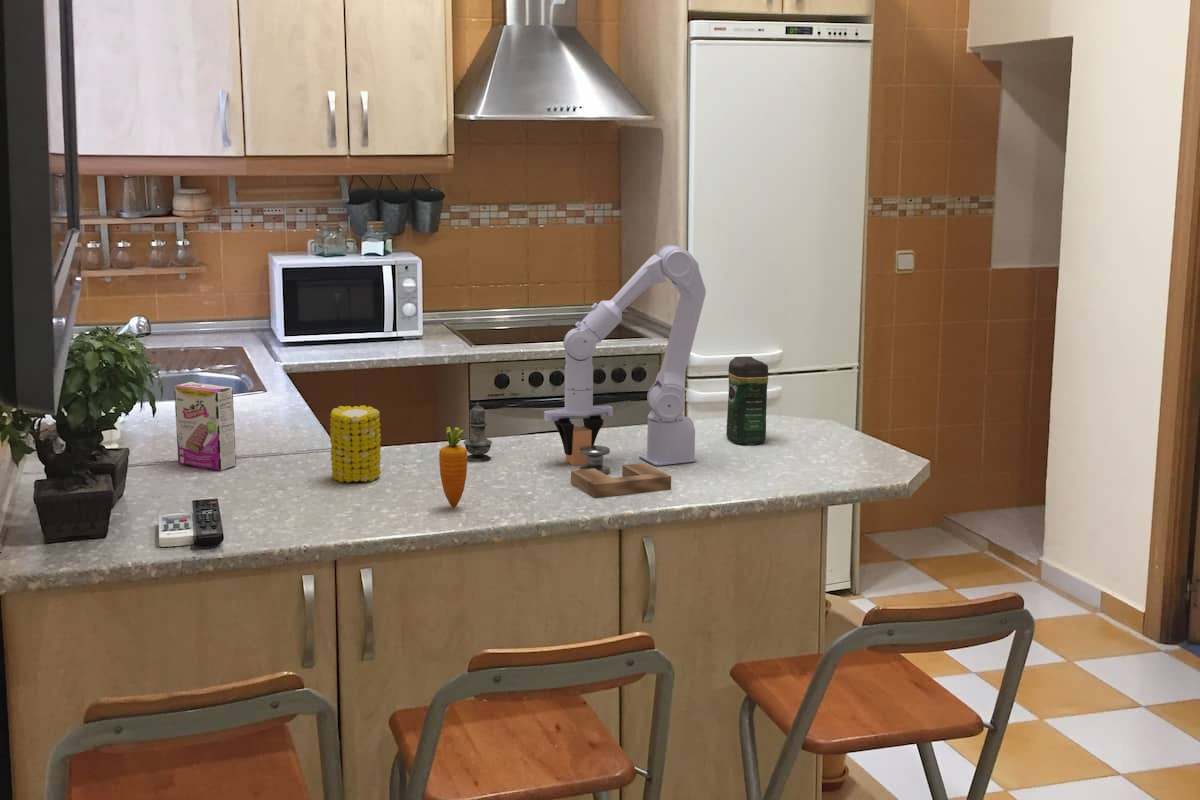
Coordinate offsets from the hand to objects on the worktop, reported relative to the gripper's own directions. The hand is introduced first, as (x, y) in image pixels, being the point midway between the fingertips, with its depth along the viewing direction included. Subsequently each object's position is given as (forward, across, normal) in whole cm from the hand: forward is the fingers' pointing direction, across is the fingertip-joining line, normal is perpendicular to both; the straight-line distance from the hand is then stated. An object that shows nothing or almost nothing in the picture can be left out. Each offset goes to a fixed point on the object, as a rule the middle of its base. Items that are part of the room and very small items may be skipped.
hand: (578, 453), depth 269 cm
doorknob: (+2, 0, +8) cm, 8 cm away
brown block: (+2, 0, 0) cm, 2 cm away
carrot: (+2, +34, +22) cm, 40 cm away
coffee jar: (+2, -42, -4) cm, 42 cm away
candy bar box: (+2, +70, -26) cm, 75 cm away
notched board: (+2, 0, +20) cm, 20 cm away
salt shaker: (+2, +18, -10) cm, 21 cm away
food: (+2, +45, -4) cm, 45 cm away
